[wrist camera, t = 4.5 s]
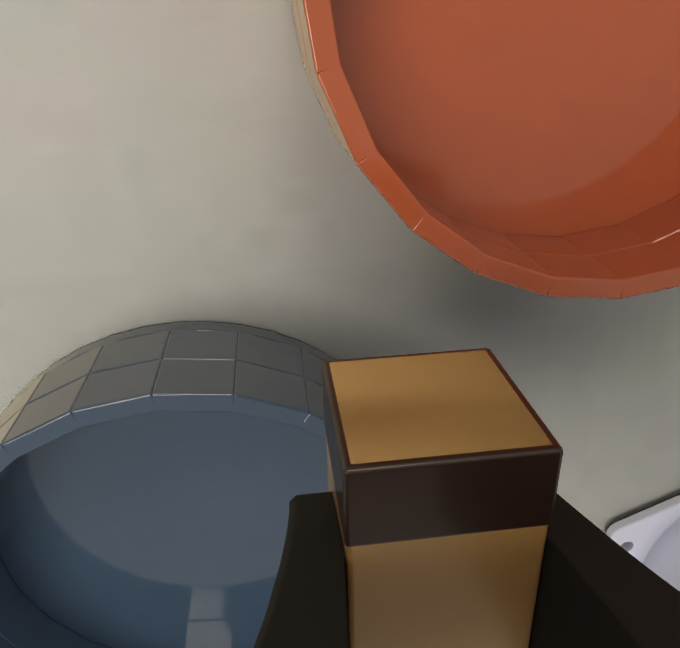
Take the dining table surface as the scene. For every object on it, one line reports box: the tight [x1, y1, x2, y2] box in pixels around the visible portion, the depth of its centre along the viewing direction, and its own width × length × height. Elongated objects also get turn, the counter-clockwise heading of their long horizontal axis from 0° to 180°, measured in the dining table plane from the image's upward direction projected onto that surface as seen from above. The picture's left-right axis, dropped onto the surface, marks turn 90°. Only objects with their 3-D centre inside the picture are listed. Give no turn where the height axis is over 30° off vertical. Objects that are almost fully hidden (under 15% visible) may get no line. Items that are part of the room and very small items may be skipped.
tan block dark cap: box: [322, 348, 563, 648], centre depth 9 cm, size 6×3×3 cm, turn 1°
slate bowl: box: [0, 322, 335, 648], centre depth 19 cm, size 14×14×4 cm
